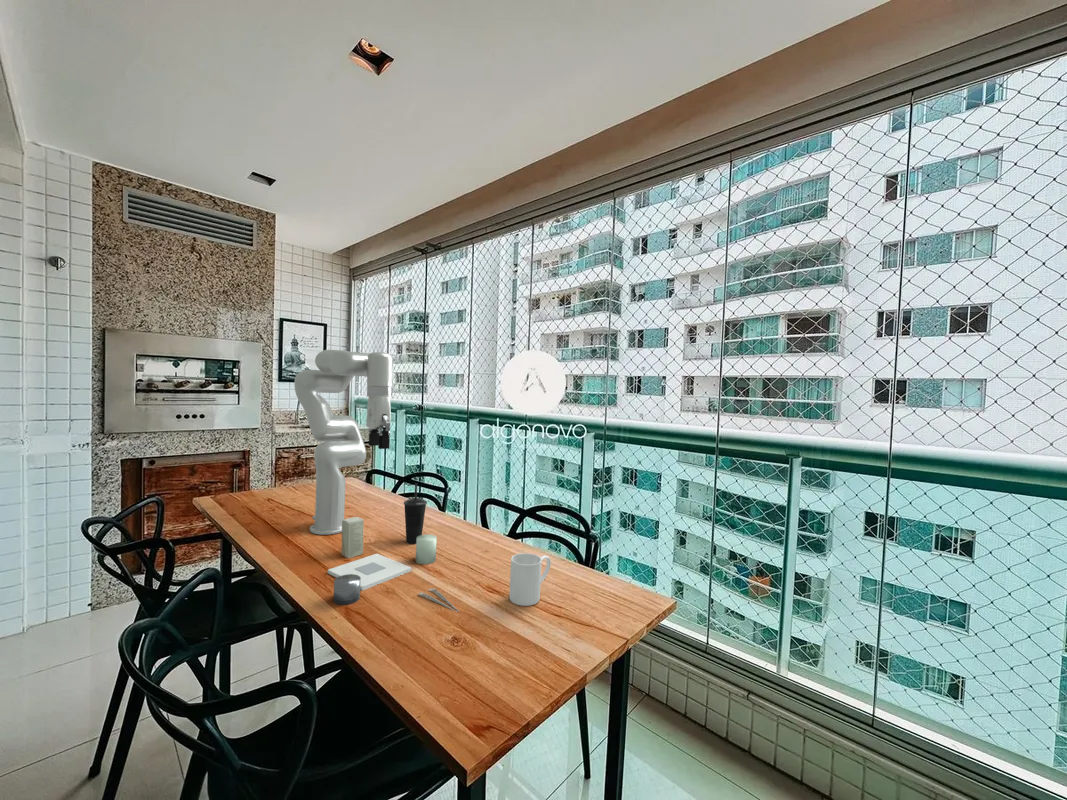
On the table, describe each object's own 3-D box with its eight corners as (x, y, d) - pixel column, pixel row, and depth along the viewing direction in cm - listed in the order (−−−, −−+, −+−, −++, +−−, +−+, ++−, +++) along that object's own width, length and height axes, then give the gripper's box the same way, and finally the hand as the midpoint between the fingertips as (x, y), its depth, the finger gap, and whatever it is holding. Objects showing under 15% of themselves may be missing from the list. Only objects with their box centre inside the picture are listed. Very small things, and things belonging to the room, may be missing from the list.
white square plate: (327, 573, 124) (327, 569, 124) (377, 556, 137) (377, 553, 137) (362, 590, 115) (362, 586, 115) (411, 571, 128) (411, 567, 128)
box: (356, 550, 142) (357, 515, 141) (363, 554, 139) (364, 519, 138) (340, 554, 137) (341, 519, 137) (347, 558, 135) (348, 522, 134)
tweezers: (416, 597, 115) (417, 589, 114) (432, 591, 118) (432, 584, 118) (459, 628, 103) (460, 620, 103) (475, 621, 107) (476, 613, 106)
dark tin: (328, 599, 110) (329, 579, 110) (350, 591, 115) (351, 572, 115) (342, 607, 106) (343, 587, 106) (364, 598, 111) (365, 579, 111)
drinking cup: (428, 538, 155) (430, 481, 154) (420, 546, 148) (423, 486, 147) (407, 536, 156) (409, 480, 155) (398, 544, 148) (400, 485, 148)
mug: (522, 609, 110) (524, 567, 109) (503, 597, 116) (505, 557, 115) (558, 596, 118) (560, 557, 117) (538, 585, 124) (540, 547, 123)
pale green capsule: (411, 560, 136) (412, 538, 136) (426, 555, 141) (427, 533, 141) (424, 566, 132) (425, 542, 132) (439, 560, 137) (440, 537, 137)
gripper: (359, 392, 144) (358, 444, 144) (376, 392, 130) (375, 450, 130) (383, 392, 149) (382, 443, 149) (401, 392, 135) (400, 449, 135)
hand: (378, 447), depth 140 cm, fingers open, 9 cm apart
